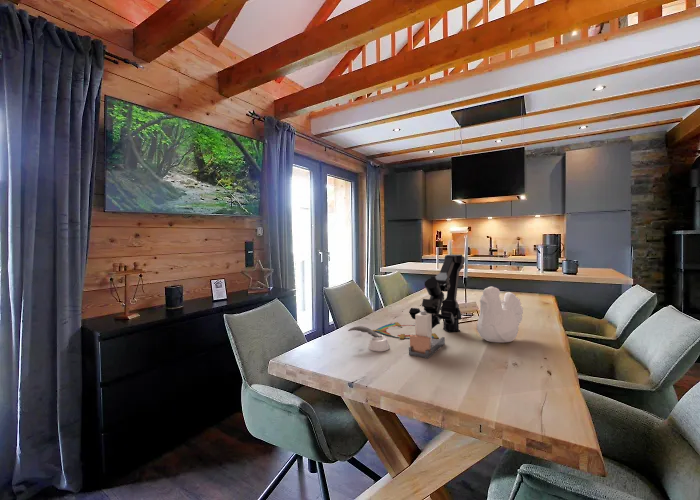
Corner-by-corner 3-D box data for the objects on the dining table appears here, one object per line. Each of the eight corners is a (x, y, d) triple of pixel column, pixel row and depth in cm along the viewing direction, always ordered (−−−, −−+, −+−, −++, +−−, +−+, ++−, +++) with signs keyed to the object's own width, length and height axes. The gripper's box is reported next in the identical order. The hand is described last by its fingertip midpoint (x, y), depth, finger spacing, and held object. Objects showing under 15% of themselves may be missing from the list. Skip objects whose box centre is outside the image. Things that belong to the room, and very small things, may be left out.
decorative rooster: (490, 349, 137) (490, 290, 135) (468, 337, 152) (468, 284, 151) (540, 343, 142) (541, 286, 141) (515, 333, 157) (515, 282, 156)
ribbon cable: (374, 340, 152) (438, 339, 151) (374, 338, 152) (438, 336, 151) (371, 324, 181) (425, 323, 180) (371, 322, 181) (425, 321, 180)
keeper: (420, 344, 138) (420, 309, 137) (431, 347, 135) (431, 310, 134) (415, 348, 134) (415, 311, 133) (427, 350, 131) (426, 313, 130)
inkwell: (392, 350, 137) (391, 327, 137) (350, 354, 134) (349, 330, 133) (386, 343, 146) (385, 321, 146) (346, 346, 143) (346, 324, 143)
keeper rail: (427, 341, 148) (427, 324, 148) (444, 344, 144) (444, 327, 143) (408, 354, 132) (408, 336, 132) (427, 358, 127) (427, 339, 127)
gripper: (410, 289, 146) (399, 319, 137) (452, 293, 135) (443, 325, 126) (417, 304, 152) (408, 333, 144) (458, 308, 142) (450, 340, 133)
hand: (426, 332), depth 136 cm, fingers closed, pressing on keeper
